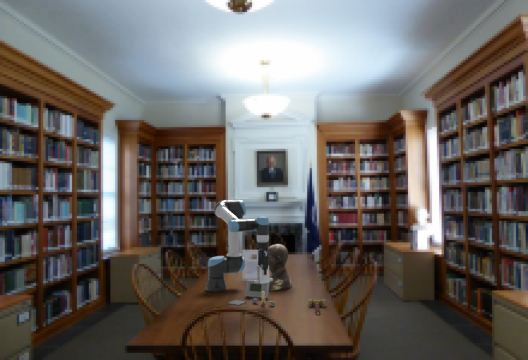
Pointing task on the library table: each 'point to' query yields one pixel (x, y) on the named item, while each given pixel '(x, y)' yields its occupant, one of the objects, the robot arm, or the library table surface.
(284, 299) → the library table surface
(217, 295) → the library table surface
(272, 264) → the portrait bust
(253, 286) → the digital clock
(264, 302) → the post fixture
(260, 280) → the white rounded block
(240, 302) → the pad
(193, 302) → the library table surface
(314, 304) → the gavel
